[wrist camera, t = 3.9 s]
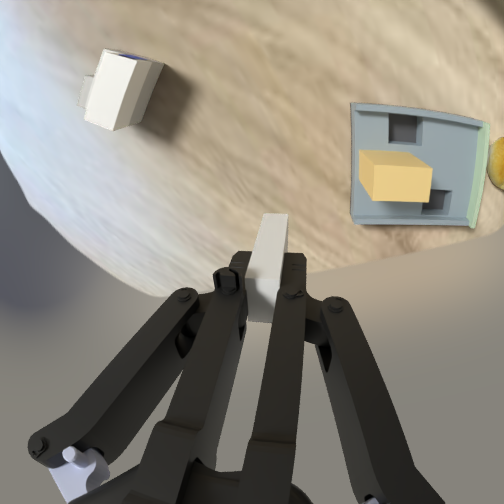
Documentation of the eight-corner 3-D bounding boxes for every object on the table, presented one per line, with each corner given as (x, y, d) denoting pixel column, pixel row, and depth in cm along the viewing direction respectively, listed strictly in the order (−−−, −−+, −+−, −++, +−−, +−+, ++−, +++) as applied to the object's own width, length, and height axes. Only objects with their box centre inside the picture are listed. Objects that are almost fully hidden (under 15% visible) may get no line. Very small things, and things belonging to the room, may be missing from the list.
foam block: (112, 47, 30) (78, 45, 23) (166, 62, 32) (137, 59, 25) (93, 101, 35) (59, 109, 28) (143, 121, 37) (112, 131, 30)
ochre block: (358, 179, 34) (372, 200, 28) (359, 149, 32) (374, 165, 26) (406, 180, 33) (428, 202, 27) (408, 152, 31) (432, 168, 25)
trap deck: (349, 212, 40) (355, 227, 36) (350, 102, 31) (357, 104, 28) (461, 215, 36) (474, 228, 33) (473, 118, 28) (490, 123, 24)
